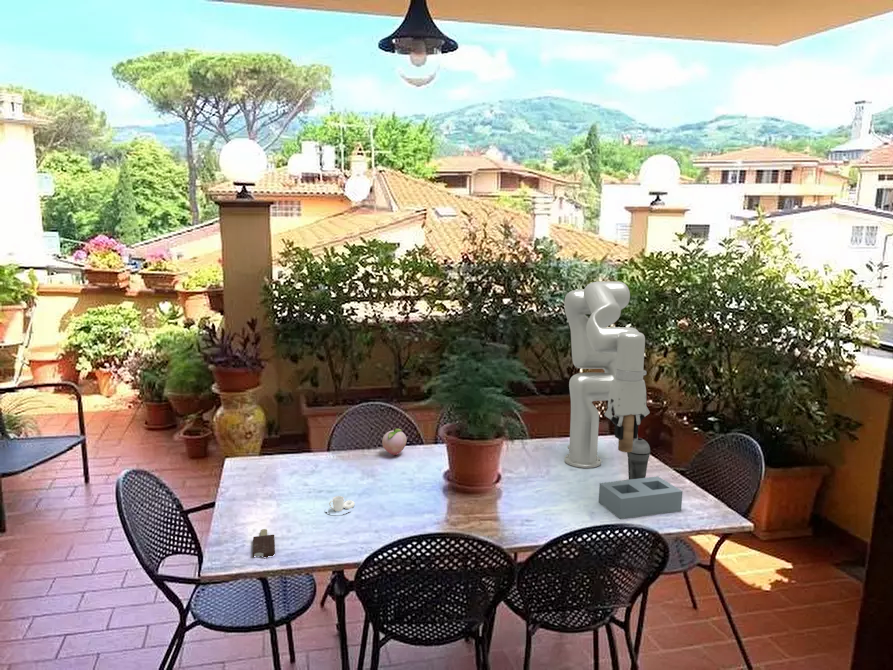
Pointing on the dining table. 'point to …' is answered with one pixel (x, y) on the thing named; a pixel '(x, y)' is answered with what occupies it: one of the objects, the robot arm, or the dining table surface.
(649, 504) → the bore block
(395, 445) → the decorative fruit
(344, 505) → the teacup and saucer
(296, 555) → the dining table surface
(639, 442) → the beverage cup
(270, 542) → the ice cream bar
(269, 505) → the dining table surface
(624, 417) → the walnut peg
